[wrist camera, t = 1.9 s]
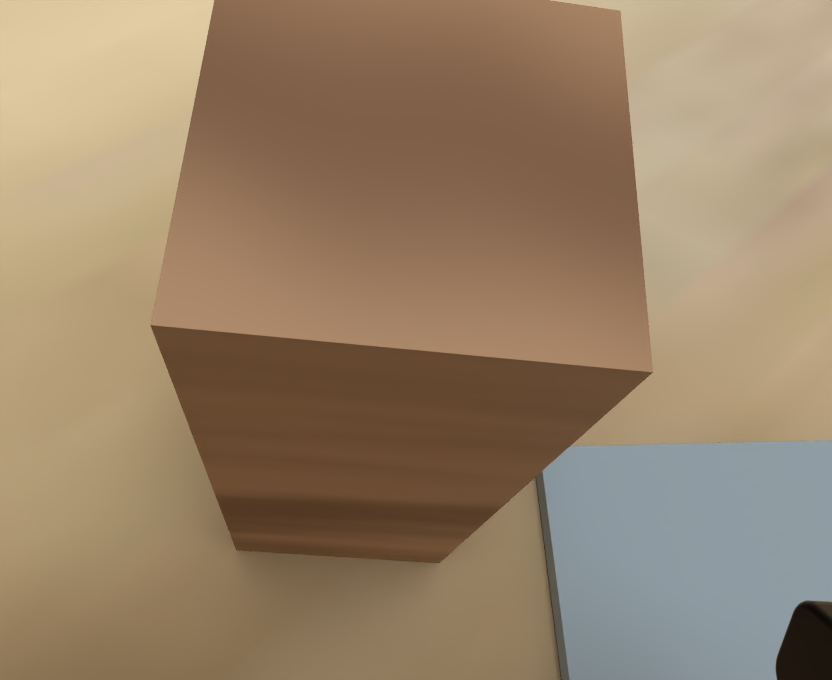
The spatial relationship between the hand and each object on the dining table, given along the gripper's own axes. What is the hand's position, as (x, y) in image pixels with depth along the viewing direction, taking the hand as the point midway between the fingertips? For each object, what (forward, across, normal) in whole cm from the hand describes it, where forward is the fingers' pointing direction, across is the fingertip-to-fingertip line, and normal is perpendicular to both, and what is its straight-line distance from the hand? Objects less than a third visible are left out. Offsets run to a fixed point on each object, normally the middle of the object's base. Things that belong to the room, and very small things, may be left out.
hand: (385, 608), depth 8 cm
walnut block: (+12, 0, +5) cm, 12 cm away
